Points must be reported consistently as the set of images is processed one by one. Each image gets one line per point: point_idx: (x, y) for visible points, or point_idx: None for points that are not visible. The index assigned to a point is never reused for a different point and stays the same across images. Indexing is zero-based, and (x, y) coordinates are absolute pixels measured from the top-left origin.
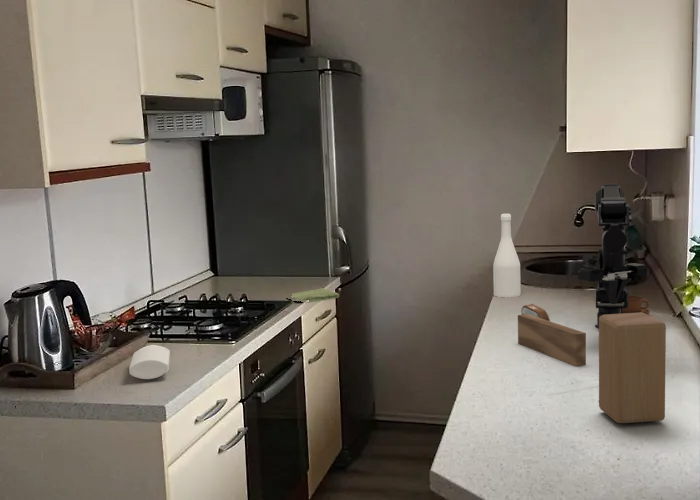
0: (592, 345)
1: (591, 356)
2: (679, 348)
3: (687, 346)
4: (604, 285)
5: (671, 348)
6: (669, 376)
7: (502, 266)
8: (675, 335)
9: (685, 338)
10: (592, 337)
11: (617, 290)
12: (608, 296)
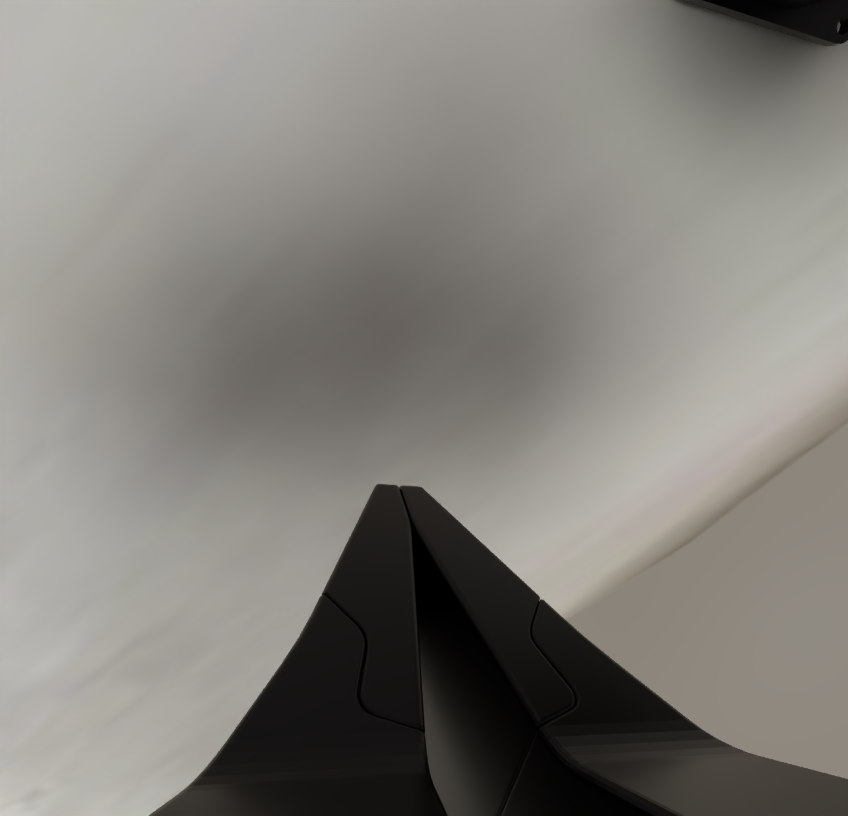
0: (214, 256)
1: (16, 462)
2: (560, 569)
3: (618, 562)
4: (233, 769)
5: (534, 553)
6: (162, 795)
7: None
8: (805, 392)
9: (765, 462)
10: (407, 47)
11: (435, 770)
12: (345, 550)
